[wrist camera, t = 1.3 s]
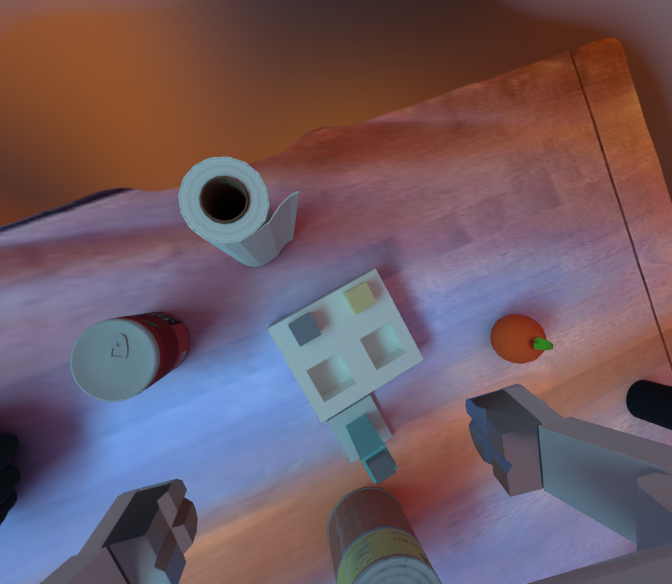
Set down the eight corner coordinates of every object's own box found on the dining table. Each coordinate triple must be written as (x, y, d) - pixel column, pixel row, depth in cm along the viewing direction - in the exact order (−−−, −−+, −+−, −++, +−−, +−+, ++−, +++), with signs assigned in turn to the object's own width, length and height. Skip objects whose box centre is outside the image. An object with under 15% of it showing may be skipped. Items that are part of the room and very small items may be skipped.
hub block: (413, 354, 46) (430, 362, 40) (318, 412, 44) (323, 429, 38) (368, 270, 45) (380, 267, 39) (269, 325, 43) (266, 330, 37)
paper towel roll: (224, 254, 42) (159, 216, 21) (244, 214, 42) (202, 137, 21) (273, 279, 43) (260, 266, 22) (293, 239, 43) (299, 190, 22)
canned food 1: (187, 307, 41) (151, 313, 30) (195, 367, 41) (163, 394, 30) (123, 316, 40) (62, 325, 29) (132, 377, 40) (75, 409, 29)
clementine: (530, 319, 49) (571, 324, 42) (521, 362, 49) (561, 374, 42) (485, 308, 48) (519, 311, 41) (476, 353, 47) (509, 363, 40)
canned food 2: (403, 561, 46) (444, 655, 34) (326, 570, 44) (341, 673, 32) (404, 483, 46) (445, 551, 34) (328, 490, 44) (343, 563, 32)
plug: (375, 432, 44) (401, 472, 34) (356, 445, 44) (376, 489, 34) (365, 413, 44) (387, 448, 34) (345, 425, 44) (362, 465, 34)
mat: (391, 434, 45) (393, 436, 45) (350, 461, 44) (351, 463, 44) (369, 393, 45) (370, 395, 44) (326, 419, 44) (327, 421, 43)
